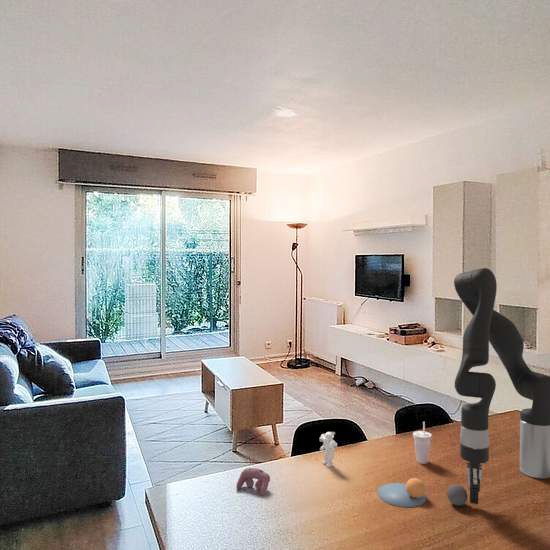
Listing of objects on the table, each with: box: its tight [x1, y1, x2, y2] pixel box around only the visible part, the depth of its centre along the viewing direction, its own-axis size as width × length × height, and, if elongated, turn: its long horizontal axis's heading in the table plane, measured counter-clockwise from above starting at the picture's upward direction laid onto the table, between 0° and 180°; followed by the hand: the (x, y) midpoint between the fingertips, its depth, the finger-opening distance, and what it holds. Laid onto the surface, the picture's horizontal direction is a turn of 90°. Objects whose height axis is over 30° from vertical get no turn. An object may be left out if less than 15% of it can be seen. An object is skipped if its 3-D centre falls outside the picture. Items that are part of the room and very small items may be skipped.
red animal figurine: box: [236, 467, 271, 496], centre depth 142 cm, size 10×5×7 cm, turn 66°
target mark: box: [377, 482, 427, 508], centre depth 138 cm, size 14×14×1 cm
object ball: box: [405, 477, 426, 498], centre depth 136 cm, size 6×6×6 cm
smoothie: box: [412, 421, 433, 465], centre depth 161 cm, size 6×6×14 cm
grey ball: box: [446, 484, 469, 507], centre depth 132 cm, size 6×6×6 cm
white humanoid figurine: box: [319, 431, 338, 468], centre depth 159 cm, size 9×4×12 cm, turn 24°
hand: (473, 502), depth 131 cm, fingers closed
